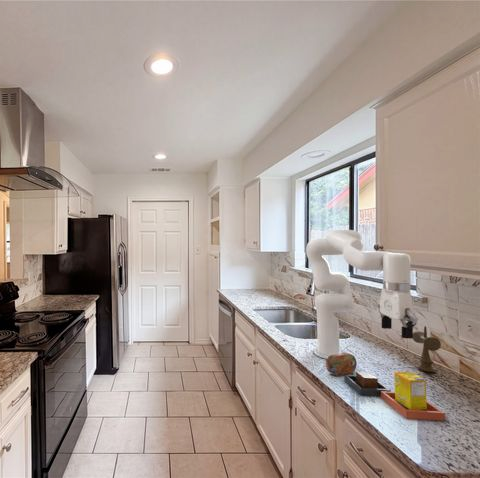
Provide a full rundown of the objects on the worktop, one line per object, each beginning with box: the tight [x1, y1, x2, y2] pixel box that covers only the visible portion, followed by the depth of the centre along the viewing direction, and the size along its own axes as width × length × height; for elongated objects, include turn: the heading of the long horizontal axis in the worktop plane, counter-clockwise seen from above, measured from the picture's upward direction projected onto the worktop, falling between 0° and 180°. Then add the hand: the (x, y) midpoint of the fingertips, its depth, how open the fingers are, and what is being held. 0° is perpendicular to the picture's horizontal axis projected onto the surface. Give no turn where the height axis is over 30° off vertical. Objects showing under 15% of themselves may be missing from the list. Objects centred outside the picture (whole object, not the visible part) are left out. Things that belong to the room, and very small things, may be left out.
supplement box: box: [394, 371, 428, 411], centre depth 93 cm, size 6×6×11 cm
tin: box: [325, 352, 358, 377], centre depth 117 cm, size 15×3×8 cm, turn 105°
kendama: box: [412, 325, 442, 373], centre depth 119 cm, size 6×10×20 cm, turn 163°
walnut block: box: [355, 371, 379, 389], centre depth 105 cm, size 5×5×5 cm
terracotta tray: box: [380, 391, 446, 422], centre depth 92 cm, size 12×12×2 cm
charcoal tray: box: [343, 374, 392, 397], centre depth 105 cm, size 11×11×2 cm
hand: (396, 333), depth 97 cm, fingers open, 9 cm apart
